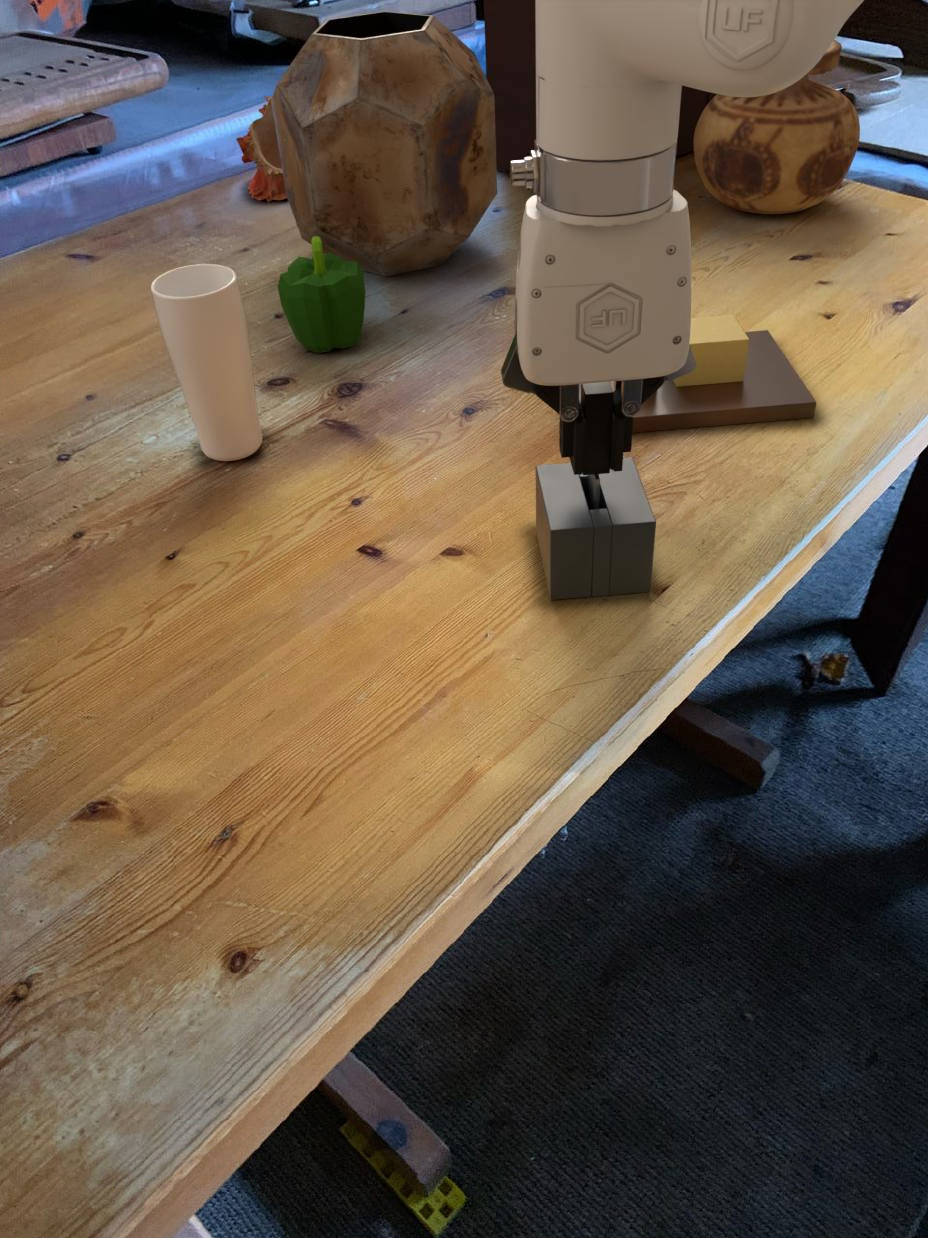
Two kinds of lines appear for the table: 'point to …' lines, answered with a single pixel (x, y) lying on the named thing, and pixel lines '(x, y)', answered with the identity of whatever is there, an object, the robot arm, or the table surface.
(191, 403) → the drinking glass
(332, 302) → the bell pepper
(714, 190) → the clay pot
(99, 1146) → the table surface
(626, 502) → the knife block
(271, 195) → the seashell
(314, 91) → the planter
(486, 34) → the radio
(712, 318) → the butter
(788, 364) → the board
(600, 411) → the knife
